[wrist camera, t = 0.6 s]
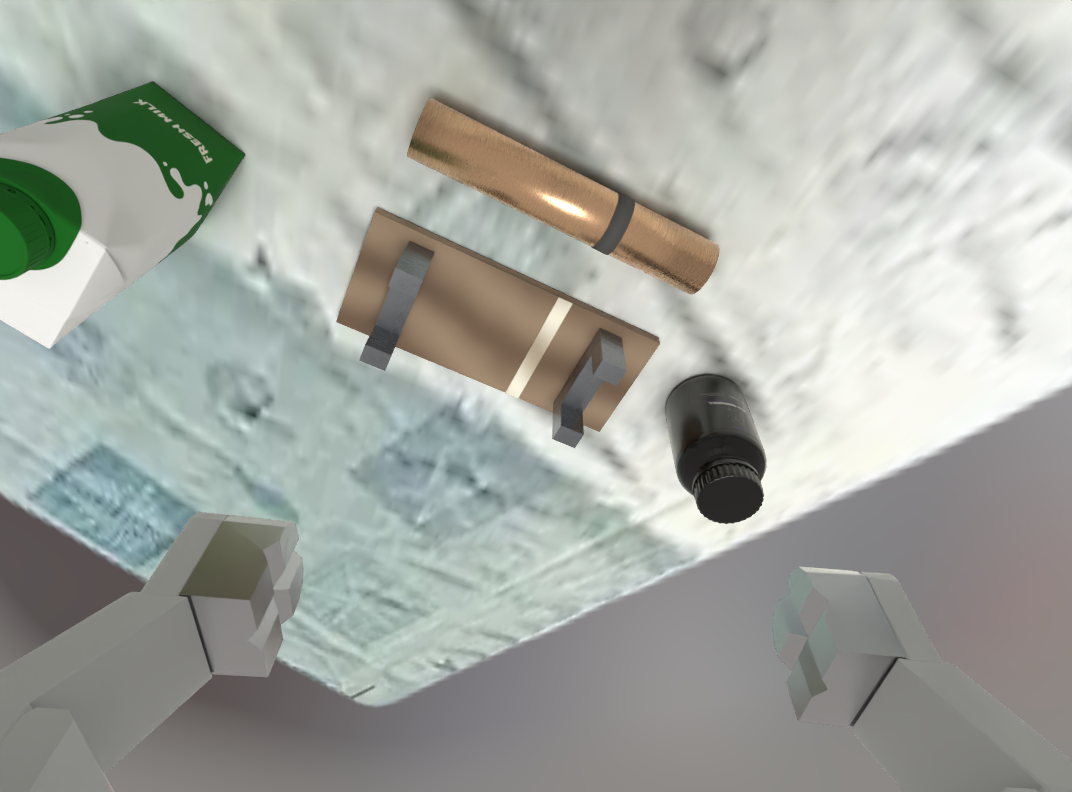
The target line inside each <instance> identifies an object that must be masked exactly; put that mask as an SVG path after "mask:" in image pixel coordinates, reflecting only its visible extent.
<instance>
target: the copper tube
mask: <svg viewBox="0 0 1072 792" xmlns="http://www.w3.org/2000/svg"><path fill="white" fill-rule="evenodd" d="M407 157H409V158H411V159H413V160H415V161H417V162H419V163H421V164H423V165H425V166H427V167H429V168H431V169H434V170H436V171H438V172H440V173H442V174H444V175H446V176H448V177H450V178H452V179H454V180H456V181H458V182H460V183H462V184H464V185H466V186H468V187H470V188H473V189H475V190H477V191H479V192H481V193H483V194H485V195H487V196H489V197H491V198H493V199H495V200H497V201H499V202H501V203H503V204H505V205H507V206H509V207H512V208H514V209H516V210H518V211H520V212H522V213H524V214H526V215H528V216H530V217H532V218H534V219H536V220H538V221H540V222H542V223H544V224H546V225H548V226H551V227H553V228H555V229H557V230H559V231H561V232H563V233H565V234H567V235H569V236H571V237H573V238H575V239H577V240H579V241H581V242H583V243H585V244H587V245H590V246H591V247H592V248H594V249H596V250H598V251H600V252H602V253H604V254H606V255H610V256H612V257H614V258H616V259H618V260H620V261H622V262H624V263H626V264H629V265H631V266H633V267H635V268H637V269H639V270H641V271H643V272H645V273H647V274H649V275H651V276H653V277H655V278H657V279H659V280H661V281H663V282H665V283H668V284H670V285H672V286H674V287H676V288H678V289H680V290H682V291H684V292H686V293H688V294H694V293H696V292H697V291H699V290H700V289H701V288H702V287H703V286H704V284H705V283H706V282H707V280H708V279H709V277H710V276H711V274H712V272H713V270H714V268H715V265H716V263H717V260H718V256H719V246H718V244H716V243H714V242H712V241H710V240H708V239H706V238H704V237H702V236H700V235H698V234H696V233H694V232H693V231H691V230H689V229H687V228H685V227H683V226H681V225H679V224H677V223H675V222H673V221H671V220H669V219H667V218H665V217H663V216H661V215H659V214H657V213H655V212H653V211H652V210H650V209H648V208H646V207H644V206H642V205H640V204H638V203H636V202H635V201H634V200H632V199H630V198H628V197H626V196H624V195H622V194H620V193H616V192H614V191H612V190H610V189H609V188H607V187H605V186H603V185H601V184H599V183H597V182H595V181H593V180H591V179H589V178H587V177H585V176H583V175H581V174H579V173H577V172H575V171H573V170H571V169H569V168H568V167H566V166H564V165H562V164H560V163H558V162H556V161H554V160H552V159H550V158H548V157H546V156H544V155H542V154H540V153H538V152H536V151H534V150H532V149H530V148H528V147H527V146H525V145H523V144H521V143H519V142H517V141H515V140H513V139H511V138H509V137H507V136H505V135H503V134H501V133H499V132H497V131H495V130H493V129H491V128H489V127H487V126H485V125H484V124H482V123H480V122H478V121H476V120H474V119H472V118H470V117H468V116H466V115H464V114H462V113H460V112H458V111H456V110H454V109H452V108H450V107H448V106H446V105H444V104H443V103H441V102H439V101H437V100H435V99H433V98H431V97H430V98H429V100H428V101H427V103H426V105H425V107H424V109H423V112H422V114H421V116H420V118H419V121H418V123H417V126H416V128H415V131H414V134H413V137H412V139H411V142H410V146H409V149H408V153H407Z"/></svg>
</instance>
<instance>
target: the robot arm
mask: <svg viewBox="0 0 1072 792" xmlns="http://www.w3.org/2000/svg"><path fill="white" fill-rule="evenodd" d="M298 540H299V536H298V531H297V526H296V524H295V523H293V522H289V521H280V520H271V519H263V518H254V517H245V516H236V515H223V514H214V513H206V512H198V513H197V514H195V515H194V516H192V517H191V518H190V519H189V520H188V522H187V523H186V525H185V526H184V528H183V529H182V531H181V532H180V534H179V535H178V537H177V538H176V540H175V541H174V543H173V544H172V546H171V547H170V549H169V550H168V552H167V553H166V555H165V556H164V558H163V559H162V561H161V562H160V564H159V565H158V567H157V568H156V570H155V571H154V573H153V574H152V576H151V577H150V579H149V580H148V582H147V583H146V585H145V586H144V588H143V589H142V591H141V592H130V593H128V594H126V595H125V596H123V597H121V598H120V599H118V600H116V601H115V602H113V603H111V604H110V605H108V606H106V607H105V608H103V609H101V610H100V611H98V612H96V613H95V614H94V615H92V616H90V617H88V618H87V619H85V620H83V621H82V622H80V623H78V624H77V625H75V626H74V627H72V628H70V629H68V630H67V631H65V632H63V633H62V634H60V635H58V636H57V637H55V638H53V639H52V640H50V641H48V642H47V643H45V644H44V645H42V646H40V647H38V648H37V649H35V650H33V651H32V652H30V653H28V654H27V655H25V656H24V657H22V658H20V659H19V660H17V661H15V662H14V663H12V664H10V665H9V666H7V667H6V668H4V669H2V670H0V792H114V791H113V789H112V787H111V786H110V784H109V782H108V780H107V778H106V776H105V773H106V772H108V771H109V770H110V769H111V768H112V767H113V766H114V765H115V764H116V763H118V762H119V761H120V760H121V759H122V758H123V757H124V756H125V755H126V754H127V753H129V752H130V751H131V750H132V749H133V748H134V747H135V746H136V745H137V744H138V743H140V742H141V741H142V740H143V739H144V738H145V737H146V736H147V735H148V734H150V733H151V732H152V731H153V730H154V729H155V728H156V727H157V726H158V725H160V724H161V723H162V722H163V721H164V720H165V719H166V718H167V717H169V715H171V714H172V713H173V712H174V711H175V710H176V709H177V708H178V707H180V706H181V705H182V704H183V703H184V702H185V701H186V700H187V699H188V698H190V697H191V696H192V695H193V694H194V693H195V692H196V691H197V690H198V689H200V688H201V687H202V686H203V685H204V684H205V683H206V682H207V681H208V680H210V679H211V678H212V675H211V674H220V675H238V676H256V677H268V675H269V673H270V670H271V667H272V665H273V663H274V661H275V658H276V656H277V654H278V651H279V649H280V646H281V644H282V641H283V635H282V630H281V624H282V623H284V622H285V621H286V620H288V619H289V618H290V617H292V616H293V614H294V612H295V609H296V607H297V604H298V602H299V598H300V594H301V589H302V584H303V561H302V557H301V556H300V555H299V554H298V553H297V552H295V551H294V549H295V546H296V544H297V542H298ZM787 583H788V586H789V588H790V591H791V593H789V594H788V595H786V596H785V597H783V598H781V599H780V600H779V601H778V604H777V606H776V609H775V611H774V614H773V626H772V632H773V640H774V645H775V649H776V652H777V656H778V658H779V659H780V660H781V661H782V662H783V663H784V664H785V665H786V666H787V667H788V668H789V669H790V670H791V673H790V675H789V677H788V679H787V681H786V685H787V688H788V691H789V694H790V697H791V700H792V704H793V707H794V710H795V714H796V717H797V720H798V722H805V723H813V724H822V725H832V726H840V727H849V728H852V730H851V731H852V732H853V734H854V735H855V736H856V737H857V738H858V740H859V741H860V742H861V743H862V744H863V746H864V747H865V748H866V749H867V750H868V751H869V753H870V754H871V755H872V756H873V757H874V759H875V760H876V761H877V762H878V763H879V765H880V766H881V767H882V768H883V769H884V770H885V772H886V773H887V774H888V775H889V776H890V777H891V779H892V780H893V781H894V782H895V783H896V785H897V786H898V787H899V788H900V789H901V791H902V792H1072V760H1070V759H1069V758H1068V757H1067V756H1065V755H1064V754H1063V753H1062V752H1060V751H1059V750H1058V749H1057V748H1055V747H1054V746H1053V745H1052V744H1051V743H1049V742H1048V741H1047V740H1046V739H1044V738H1043V737H1042V736H1041V735H1039V734H1038V733H1037V732H1036V731H1034V730H1033V729H1032V728H1031V727H1029V726H1028V725H1027V724H1026V723H1025V722H1023V721H1022V720H1021V719H1020V718H1018V717H1017V716H1016V715H1015V714H1013V713H1012V712H1011V711H1010V710H1009V709H1008V708H1006V707H1005V706H1004V705H1003V704H1001V703H1000V702H999V701H998V700H996V699H995V698H994V697H993V696H991V695H990V694H989V693H988V692H987V691H985V690H984V689H983V688H982V687H980V686H979V685H978V684H977V683H975V682H974V681H973V680H972V679H971V678H969V677H968V676H967V675H966V674H964V673H963V672H962V671H961V670H959V669H958V668H957V667H956V666H955V665H953V664H952V663H944V662H942V661H941V659H940V657H939V655H938V653H937V651H936V650H935V648H934V646H933V644H932V642H931V641H930V639H929V637H928V635H927V633H926V632H925V630H924V628H923V626H922V624H921V622H920V620H919V619H918V617H917V615H916V613H915V611H914V609H913V608H912V606H911V604H910V602H909V600H908V599H907V597H906V595H905V593H904V591H903V589H902V588H901V586H900V584H899V582H898V580H897V579H896V578H894V577H893V576H892V575H891V574H882V573H881V574H880V573H870V572H856V571H846V570H834V569H821V568H809V567H797V568H796V569H795V570H794V571H792V573H791V575H790V577H789V579H788V581H787Z"/></svg>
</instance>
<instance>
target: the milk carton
mask: <svg viewBox="0 0 1072 792" xmlns="http://www.w3.org/2000/svg"><path fill="white" fill-rule="evenodd" d="M244 156H245V154H244V153H243V152H242V151H240V150H239V149H238V148H236V147H235V146H234V145H233V144H231V143H230V142H229V141H228V140H226V139H225V138H224V137H223V136H221V135H220V134H219V133H217V132H216V131H215V130H214V129H212V128H211V127H210V126H209V125H207V124H206V123H205V122H203V121H202V120H201V119H200V118H198V117H197V116H196V115H195V114H193V113H192V112H191V111H190V110H188V109H187V108H186V107H184V106H183V105H182V104H181V103H179V102H178V101H177V100H176V99H174V98H173V97H172V96H171V95H169V94H168V93H167V92H165V91H164V90H163V89H162V88H160V87H159V86H158V85H157V84H155V83H154V82H150V83H148V84H145V85H142V86H139V87H137V88H134V89H131V90H128V91H125V92H123V93H120V94H117V95H114V96H112V97H109V98H106V99H104V100H101V101H98V102H96V103H93V104H90V105H87V106H84V107H81V108H78V109H75V110H72V111H69V112H66V113H63V114H60V115H57V116H54V117H51V118H48V119H45V120H42V121H39V122H36V123H33V124H30V125H27V126H24V127H21V128H18V129H15V130H12V131H9V132H5V133H2V134H0V320H2V321H3V322H5V323H7V324H8V325H10V326H12V327H13V328H15V329H17V330H18V331H20V332H22V333H23V334H25V335H27V336H28V337H30V338H32V339H34V340H35V341H37V342H39V343H40V344H42V345H44V346H45V347H47V348H51V347H52V346H53V345H54V344H56V343H57V342H58V341H59V340H60V339H62V338H63V337H64V336H65V335H67V334H68V333H69V332H70V331H72V330H73V329H74V328H75V327H77V326H78V325H79V324H80V323H82V322H83V321H84V320H85V319H87V318H88V317H89V316H91V315H92V314H93V313H94V312H96V311H97V310H98V309H99V308H101V307H102V306H103V305H104V304H106V303H107V302H109V301H111V300H112V299H114V298H115V297H116V296H117V294H119V293H120V292H122V291H123V290H124V289H126V288H127V287H128V286H130V285H131V284H133V283H134V282H135V281H136V280H138V279H139V278H140V277H142V276H143V275H144V274H145V273H147V272H148V271H149V270H151V269H152V268H153V267H154V266H156V265H157V264H158V263H160V262H161V261H162V260H163V259H165V258H166V257H167V256H169V255H170V254H171V253H172V252H174V251H175V250H176V249H178V248H179V247H180V246H181V245H183V244H184V243H185V242H186V241H187V240H189V239H190V238H191V237H192V236H193V235H194V234H195V232H196V231H197V230H198V228H199V227H200V225H201V224H202V222H203V221H204V219H205V218H206V216H207V214H208V213H209V211H210V210H211V208H212V207H213V205H214V203H215V202H216V200H217V199H218V197H219V195H220V194H221V192H222V191H223V189H224V187H225V186H226V184H227V183H228V181H229V179H230V178H231V176H232V175H233V173H234V172H235V170H236V168H237V167H238V165H239V164H240V162H241V160H242V159H243V157H244Z"/></svg>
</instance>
